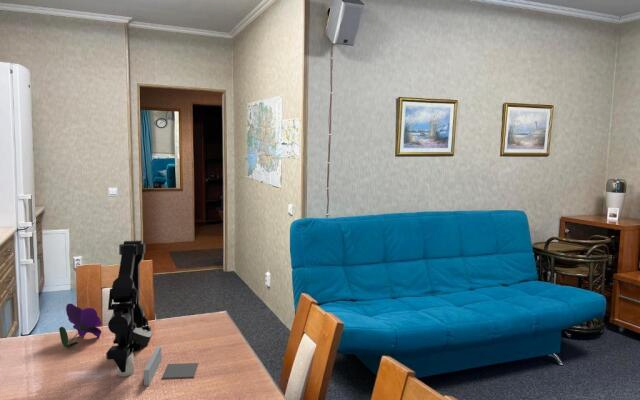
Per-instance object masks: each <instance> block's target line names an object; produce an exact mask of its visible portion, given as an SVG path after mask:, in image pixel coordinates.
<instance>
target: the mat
mask: <svg viewBox="0 0 640 400" xmlns="http://www.w3.org/2000/svg"><path fill="white" fill-rule="evenodd" d="M198 366H199V363H198V362H188V363H185V362H184V363H168V364H167V365H166V368H165V370H164V371H163V373H162V377H161V380H166V379H167V380H168V379H169V380H172V379H193V378H195V375H196V371H197V368H198Z"/></svg>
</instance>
